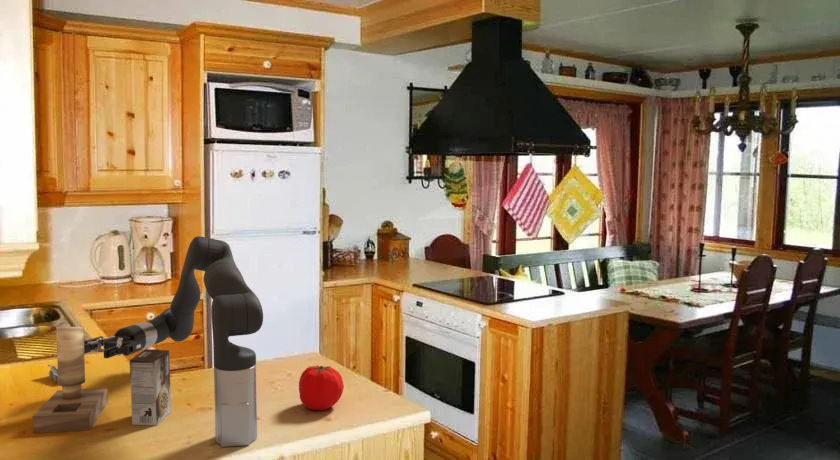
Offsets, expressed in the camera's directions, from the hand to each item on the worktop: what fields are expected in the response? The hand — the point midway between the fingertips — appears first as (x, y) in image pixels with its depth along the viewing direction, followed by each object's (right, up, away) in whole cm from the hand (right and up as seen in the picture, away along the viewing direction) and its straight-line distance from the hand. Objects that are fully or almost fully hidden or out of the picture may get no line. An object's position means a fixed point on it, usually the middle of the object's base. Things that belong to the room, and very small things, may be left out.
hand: (91, 352), depth 179 cm
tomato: (+59, -14, +1) cm, 60 cm away
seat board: (-1, -14, -8) cm, 16 cm away
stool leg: (-2, -10, -5) cm, 12 cm away
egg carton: (-17, -11, +21) cm, 29 cm away
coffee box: (+19, -15, -8) cm, 25 cm away
